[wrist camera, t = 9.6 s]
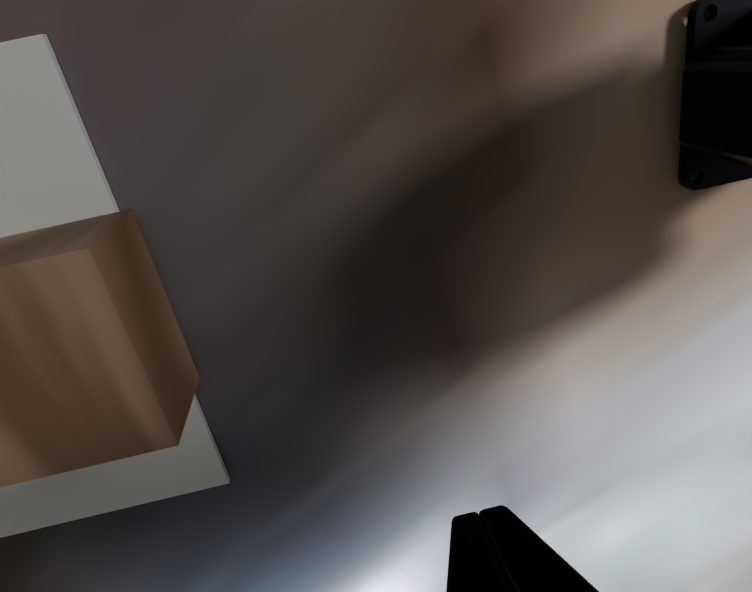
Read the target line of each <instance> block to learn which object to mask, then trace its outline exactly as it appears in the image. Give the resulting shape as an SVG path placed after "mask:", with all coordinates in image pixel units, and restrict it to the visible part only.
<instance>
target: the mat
mask: <svg viewBox="0 0 752 592" xmlns="http://www.w3.org/2000/svg"><path fill="white" fill-rule="evenodd" d="M115 212H120V211H119V209H118V206H117V204H116V202H115V199H114V197H113V194H112V192H111V190H110V187H109V185H108V182H107V180H106V177H105V175H104V173H103V170H102V168H101V165H100V163H99V161H98V158H97V156H96V153H95V151H94V148H93V146H92V144H91V141H90V139H89V136H88V134H87V132H86V129H85V127H84V124H83V122H82V119H81V117H80V115H79V112H78V110H77V107H76V105H75V103H74V100H73V98H72V95H71V93H70V90H69V88H68V86H67V83H66V81H65V78H64V76H63V74H62V71H61V69H60V66H59V64H58V61H57V59H56V57H55V54H54V52H53V49H52V47H51V45H50V42H49V40H48V37H47V35H46V34H40V35H35V36H30V37H25V38H20V39H15V40H11V41H6V42H1V43H0V238H2V237H6V236H11V235H15V234H20V233H24V232H29V231H33V230H38V229H43V228H47V227H52V226H56V225H61V224H65V223H70V222H74V221H79V220H83V219H88V218H92V217H97V216H102V215H106V214H111V213H115ZM229 482H230V477H229V475H228V472H227V470H226V467H225V465H224V463H223V460H222V458H221V455H220V453H219V451H218V448H217V446H216V443H215V441H214V438H213V436H212V434H211V431H210V429H209V426H208V424H207V422H206V419H205V417H204V414H203V412H202V409H201V407H200V405H199V402H198V400H197V397H196V395H194V398H193V401H192V404H191V407H190V410H189V414H188V417H187V420H186V423H185V426H184V429H183V432H182V436H181V439H180V442H179V445H178V446H174V447H170V448H166V449H162V450H157V451H153V452H149V453H145V454H140V455H136V456H132V457H128V458H124V459H119V460H115V461H111V462H107V463H102V464H98V465H94V466H90V467H85V468H81V469H77V470H73V471H68V472H64V473H60V474H56V475H51V476H47V477H43V478H39V479H34V480H30V481H26V482H22V483H17V484H13V485H9V486H5V487H0V538H2V537H6V536H10V535H14V534H19V533H23V532H27V531H31V530H35V529H40V528H44V527H48V526H52V525H56V524H61V523H65V522H69V521H73V520H77V519H82V518H86V517H90V516H94V515H98V514H103V513H107V512H111V511H115V510H119V509H124V508H128V507H132V506H136V505H140V504H145V503H149V502H153V501H157V500H161V499H166V498H170V497H174V496H178V495H182V494H187V493H191V492H195V491H199V490H203V489H208V488H212V487H216V486H220V485H224V484H229Z"/></svg>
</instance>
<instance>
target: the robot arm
mask: <svg viewBox="0 0 752 592" xmlns="http://www.w3.org/2000/svg"><path fill="white" fill-rule="evenodd" d="M707 6H708V7H709V11H710V12H709V16H708V17H707V19H706V20H705V19H704V18H703V12H704V9H705V8H706V7H707ZM679 140H680V142H681V144H680V161H679V183H680V184H681V186H683V187H685V188H687V189H690V190H700V189H705V188H709V187H714V186H718V185H722V184H727V183H731V182H736V181H740V180H745V179H749V178H752V0H696V1H695V2H694V3H693V4H692V6H691V8H690V10H689V14H688V24H687V41H686V58H685V69H684V71H683V83H682V100H681V118H680V135H679ZM696 171H697V173H698V174H697V177H696V178H695V179H694V180H693V181H692V176H693V174H694V173H695V172H696ZM447 592H599V591H598V590H597V589H596V588H594V587H593V586H592V585H591V584H590V583H589V582H588V581H587V580H586V579H585V578H584V577H582V576H581V575H580V574H579V573H578V572H577V571H576V570H575V569H574V568H573V567H572V566H570V565H569V564H568V563H567V562H566V561H565V560H564V559H563V558H562V557H561V556H560V555H558V554H557V553H556V552H555V551H554V550H553V549H552V548H551V547H550V546H549V545H548V544H546V543H545V542H544V541H543V540H542V539H541V538H540V537H539V536H538V535H537V534H536V533H535V532H533V531H532V530H531V529H530V528H529V527H528V526H527V525H526V524H525V523H524V522H523V521H521V520H520V519H519V518H518V517H517V516H516V515H515V514H514V513H513V512H512V511H511V510H509V509H508V508H507V507H505V506H502V505H501V506H496V507H492V508H488V509H484V510H481V511H480V513H479V514H478V513H476V512H471V513H467V514H463V515H459V516H455V517H454V518H453V520H452V527H451V540H450V553H449V566H448V579H447Z"/></svg>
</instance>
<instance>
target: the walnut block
mask: <svg viewBox="0 0 752 592" xmlns="http://www.w3.org/2000/svg"><path fill="white" fill-rule="evenodd" d="M199 379H200V377H199V375H198V373H197V370H196V368H195V365H194V363H193V360H192V358H191V355H190V353H189V350H188V348H187V345H186V343H185V340H184V338H183V335H182V333H181V330H180V328H179V326H178V323H177V321H176V318H175V316H174V313H173V311H172V308H171V306H170V303H169V301H168V298H167V296H166V293H165V291H164V288H163V286H162V283H161V281H160V279H159V276H158V274H157V271H156V269H155V266H154V264H153V261H152V259H151V256H150V254H149V251H148V249H147V246H146V244H145V241H144V239H143V236H142V234H141V232H140V229H139V227H138V224H137V222H136V219H135V217H134V214H133V212H132V209H129V210H124V211H120V212H115V213H111V214H106V215H102V216H97V217H92V218H88V219H83V220H79V221H74V222H70V223H65V224H61V225H56V226H52V227H47V228H43V229H38V230H33V231H29V232H24V233H20V234H15V235H11V236H6V237H2V238H0V487H5V486H9V485H13V484H17V483H22V482H26V481H30V480H34V479H39V478H43V477H47V476H51V475H56V474H60V473H64V472H68V471H73V470H77V469H81V468H85V467H90V466H94V465H98V464H102V463H107V462H111V461H115V460H119V459H124V458H128V457H132V456H136V455H140V454H145V453H149V452H153V451H157V450H162V449H166V448H170V447H174V446H178V445H179V442H180V439H181V436H182V432H183V429H184V426H185V423H186V420H187V417H188V414H189V410H190V407H191V404H192V401H193V398H194V395H195V391H196V388H197V385H198V382H199Z"/></svg>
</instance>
